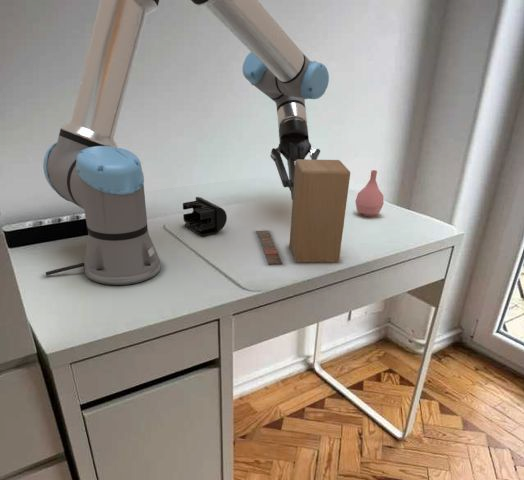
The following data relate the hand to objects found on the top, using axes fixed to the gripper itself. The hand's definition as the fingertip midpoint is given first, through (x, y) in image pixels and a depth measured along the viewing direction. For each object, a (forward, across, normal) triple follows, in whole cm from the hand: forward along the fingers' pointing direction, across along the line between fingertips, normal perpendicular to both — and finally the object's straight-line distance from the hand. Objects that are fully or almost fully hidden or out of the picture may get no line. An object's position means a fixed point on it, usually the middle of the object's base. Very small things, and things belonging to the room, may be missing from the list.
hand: (300, 211), depth 125 cm
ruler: (+11, +9, +3) cm, 15 cm away
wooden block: (+14, 0, +7) cm, 16 cm away
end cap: (+2, +24, -6) cm, 25 cm away
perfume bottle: (-5, -22, -12) cm, 26 cm away
